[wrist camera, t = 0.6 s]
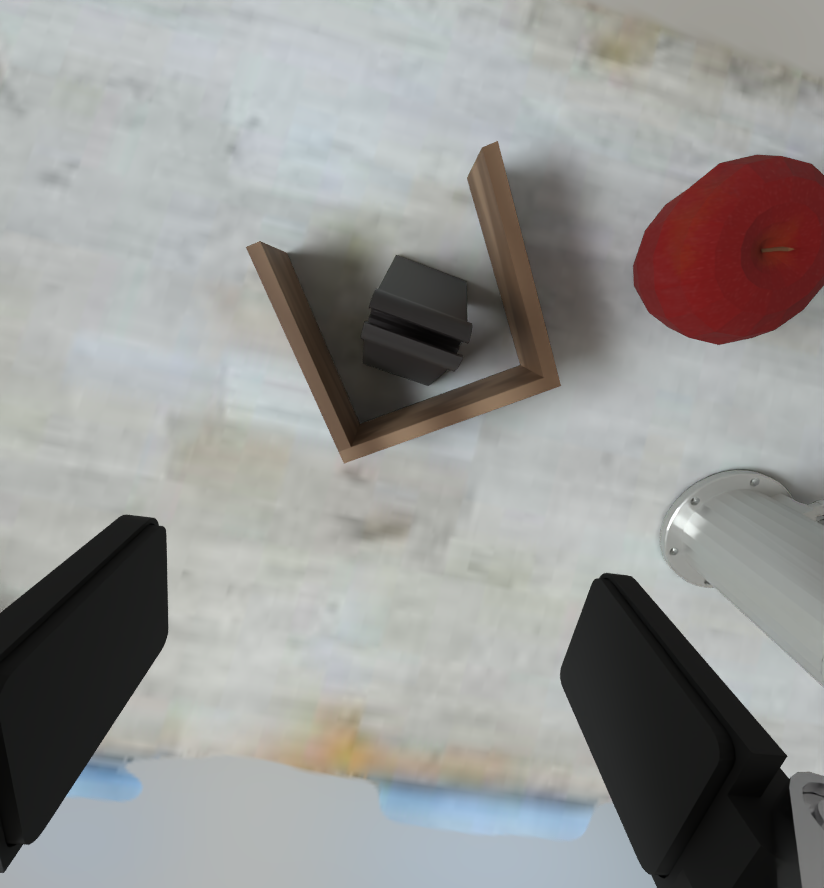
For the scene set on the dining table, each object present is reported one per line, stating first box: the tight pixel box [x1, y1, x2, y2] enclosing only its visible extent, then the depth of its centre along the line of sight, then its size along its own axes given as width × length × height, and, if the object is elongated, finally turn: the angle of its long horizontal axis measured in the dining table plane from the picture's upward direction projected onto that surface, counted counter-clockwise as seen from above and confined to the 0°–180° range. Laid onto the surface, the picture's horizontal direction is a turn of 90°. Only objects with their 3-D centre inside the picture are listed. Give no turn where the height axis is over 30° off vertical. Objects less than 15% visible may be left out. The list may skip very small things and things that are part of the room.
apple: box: [633, 155, 824, 345], centre depth 28 cm, size 11×11×12 cm
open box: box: [246, 141, 561, 463], centre depth 32 cm, size 17×16×6 cm
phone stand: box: [361, 255, 472, 386], centre depth 29 cm, size 9×6×12 cm, turn 160°
